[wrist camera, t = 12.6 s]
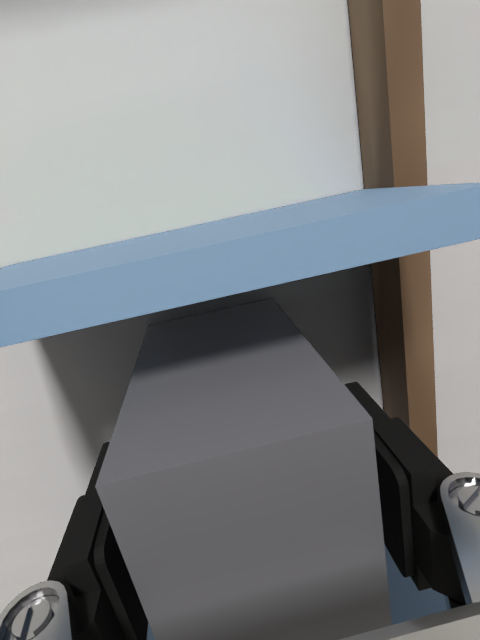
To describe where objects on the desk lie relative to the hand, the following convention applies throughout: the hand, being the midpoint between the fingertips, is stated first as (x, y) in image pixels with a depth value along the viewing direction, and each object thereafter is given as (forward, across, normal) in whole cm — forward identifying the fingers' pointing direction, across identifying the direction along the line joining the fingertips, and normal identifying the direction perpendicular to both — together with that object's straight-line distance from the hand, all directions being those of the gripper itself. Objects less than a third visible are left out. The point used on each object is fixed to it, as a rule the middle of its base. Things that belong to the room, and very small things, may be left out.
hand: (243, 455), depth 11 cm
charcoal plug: (+4, 0, 0) cm, 4 cm away
